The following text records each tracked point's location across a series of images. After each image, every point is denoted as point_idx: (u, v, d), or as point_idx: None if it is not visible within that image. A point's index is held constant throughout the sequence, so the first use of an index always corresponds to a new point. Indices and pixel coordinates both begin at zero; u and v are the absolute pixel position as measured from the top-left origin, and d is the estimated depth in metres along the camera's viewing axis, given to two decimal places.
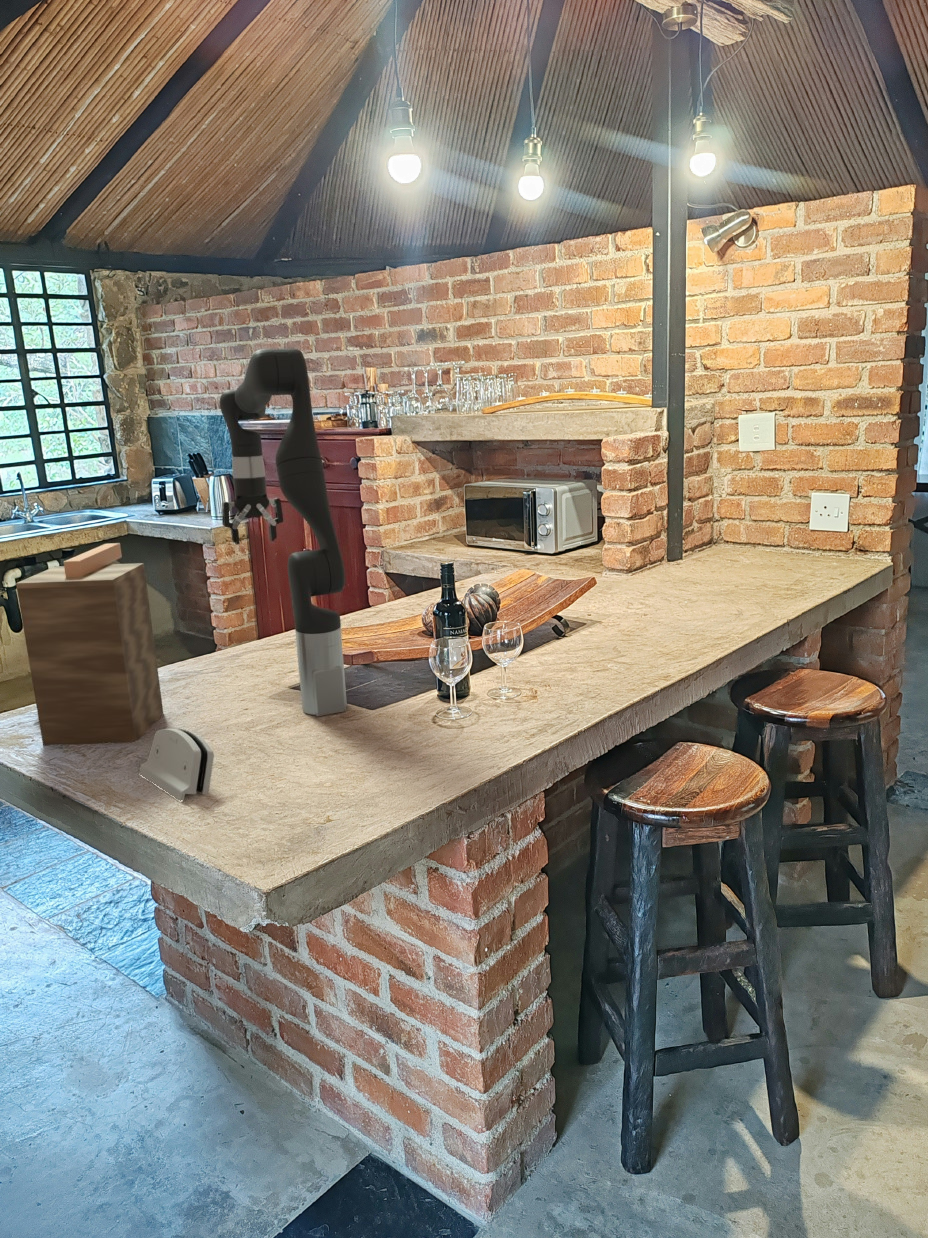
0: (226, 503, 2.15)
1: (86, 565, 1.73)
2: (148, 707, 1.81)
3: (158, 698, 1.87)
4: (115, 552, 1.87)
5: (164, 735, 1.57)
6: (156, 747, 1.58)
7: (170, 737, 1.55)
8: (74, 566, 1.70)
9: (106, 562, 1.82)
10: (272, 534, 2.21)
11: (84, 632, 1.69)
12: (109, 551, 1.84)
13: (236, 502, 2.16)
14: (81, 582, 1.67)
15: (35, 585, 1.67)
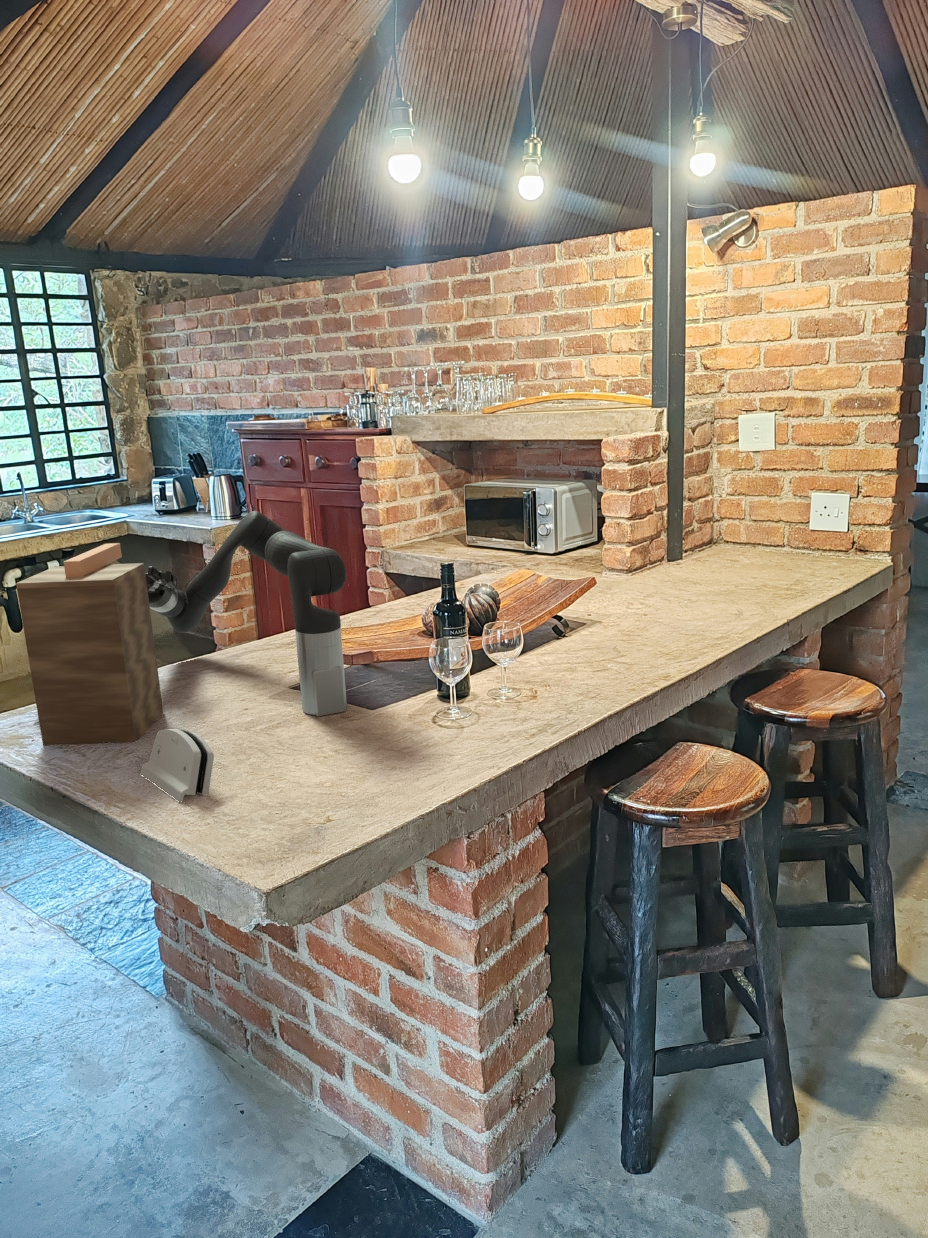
0: None
1: (86, 565, 1.73)
2: (148, 707, 1.81)
3: (158, 698, 1.87)
4: (115, 552, 1.87)
5: (165, 736, 1.57)
6: (157, 747, 1.58)
7: (171, 737, 1.55)
8: (74, 566, 1.70)
9: (106, 562, 1.82)
10: None
11: (84, 632, 1.69)
12: (109, 551, 1.84)
13: None
14: (81, 582, 1.67)
15: (35, 585, 1.67)
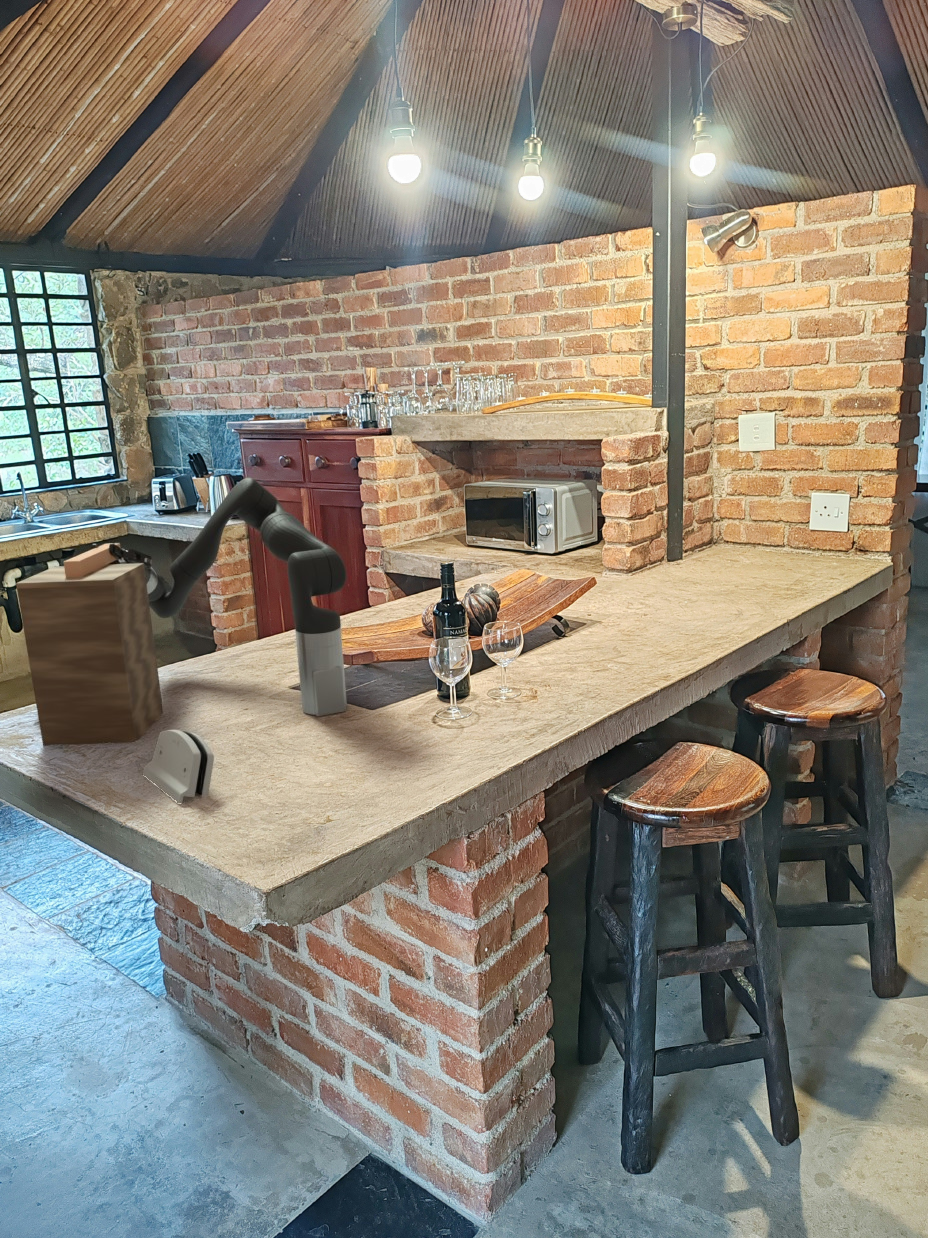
0: None
1: (86, 565, 1.73)
2: (148, 707, 1.81)
3: (158, 698, 1.87)
4: None
5: (167, 737, 1.56)
6: (160, 748, 1.58)
7: (173, 738, 1.54)
8: (74, 566, 1.70)
9: (106, 562, 1.82)
10: None
11: (84, 632, 1.69)
12: None
13: None
14: (81, 582, 1.67)
15: (35, 585, 1.67)
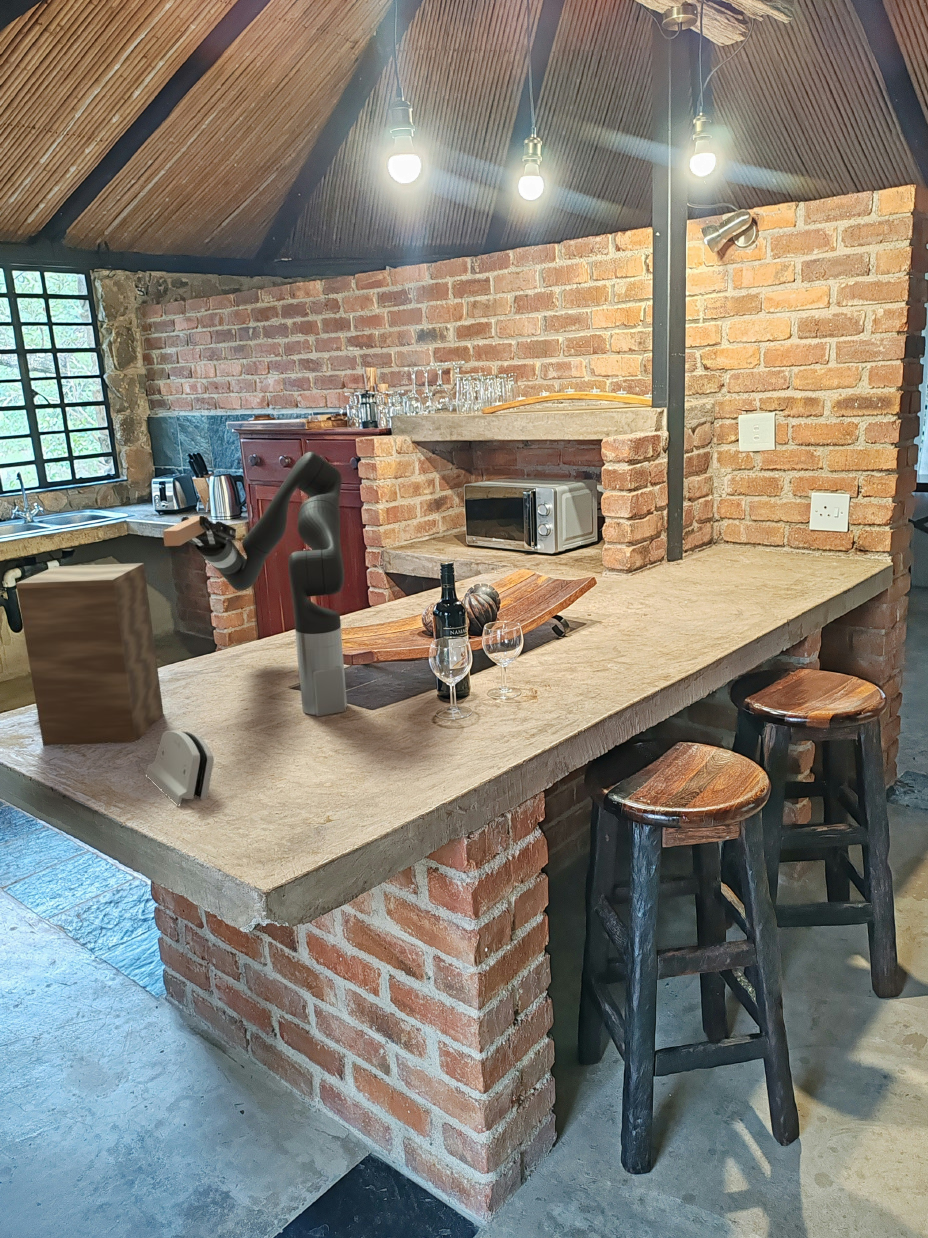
0: None
1: (183, 535, 1.81)
2: (148, 707, 1.81)
3: (158, 698, 1.87)
4: None
5: (169, 737, 1.56)
6: (162, 749, 1.57)
7: (174, 739, 1.54)
8: (173, 535, 1.78)
9: (197, 533, 1.90)
10: None
11: (84, 632, 1.69)
12: (199, 522, 1.92)
13: None
14: (81, 582, 1.67)
15: (35, 585, 1.67)
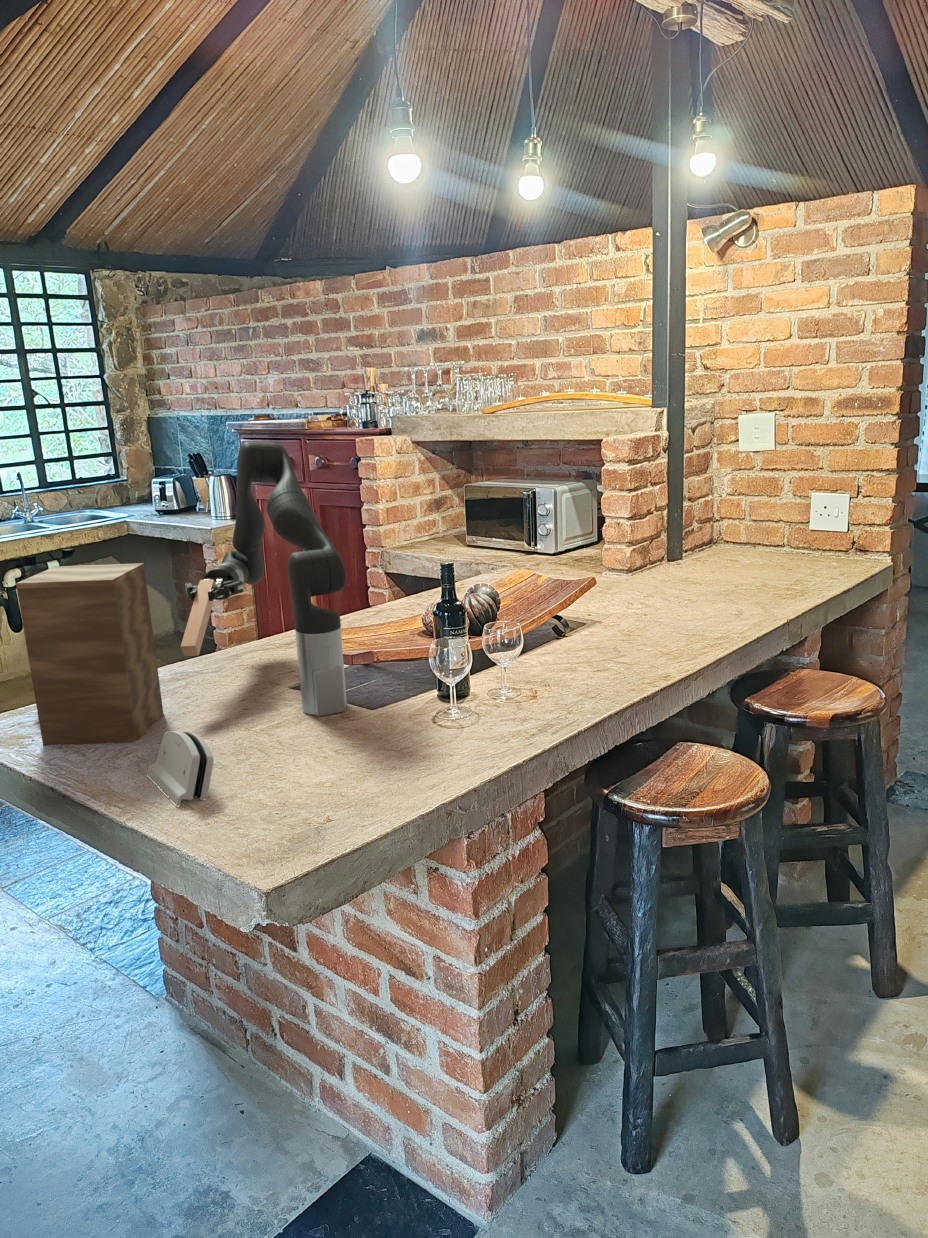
0: None
1: (199, 640, 1.89)
2: (148, 707, 1.81)
3: (158, 698, 1.87)
4: None
5: (170, 738, 1.56)
6: (163, 749, 1.57)
7: (175, 740, 1.54)
8: (191, 649, 1.87)
9: (209, 613, 1.96)
10: (211, 589, 1.97)
11: (84, 632, 1.69)
12: None
13: None
14: (81, 582, 1.67)
15: (35, 585, 1.67)
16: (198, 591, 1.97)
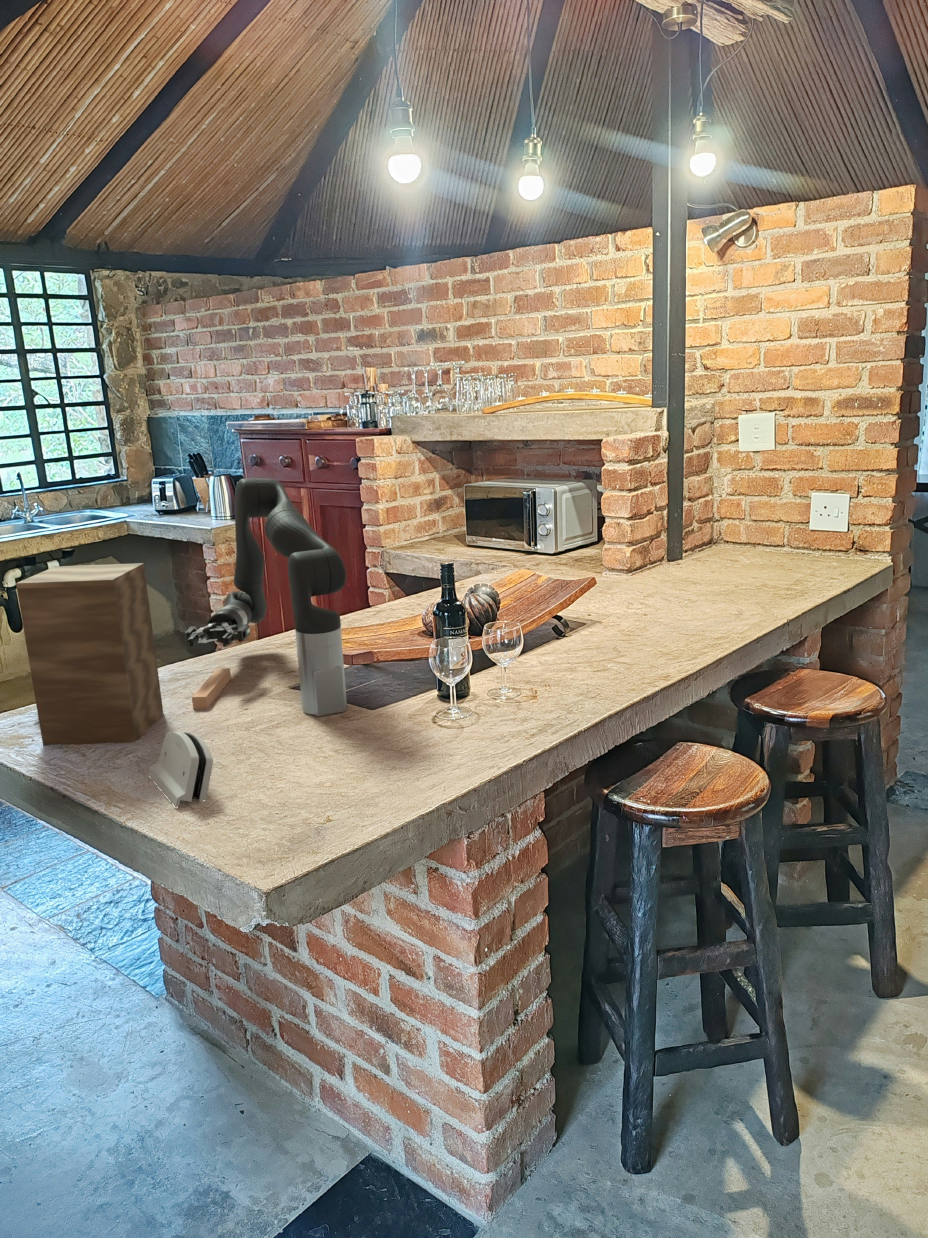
0: (193, 626, 2.09)
1: (210, 698, 1.94)
2: (148, 707, 1.81)
3: (158, 698, 1.87)
4: (227, 678, 2.08)
5: (171, 738, 1.55)
6: (165, 749, 1.57)
7: (176, 741, 1.53)
8: (201, 701, 1.91)
9: None
10: (225, 635, 2.00)
11: (84, 632, 1.69)
12: (223, 678, 2.05)
13: None
14: (81, 582, 1.67)
15: (35, 585, 1.67)
16: (214, 673, 2.07)
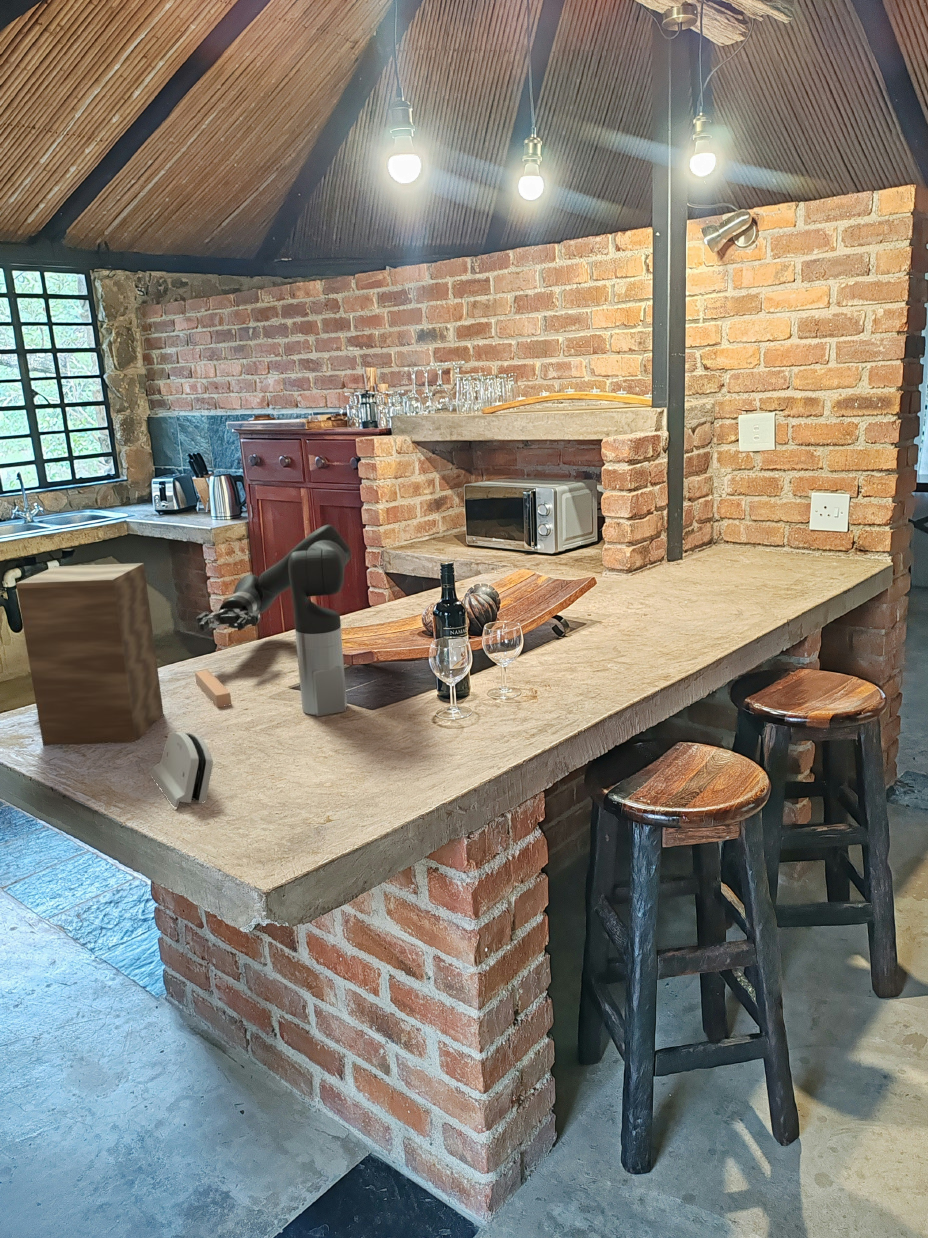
0: (206, 611, 2.21)
1: None
2: (148, 707, 1.81)
3: (158, 698, 1.87)
4: None
5: (173, 739, 1.55)
6: (167, 750, 1.57)
7: (177, 741, 1.53)
8: (225, 698, 1.93)
9: None
10: (239, 620, 2.12)
11: (84, 632, 1.69)
12: None
13: None
14: (81, 582, 1.67)
15: (35, 585, 1.67)
16: (200, 675, 2.06)
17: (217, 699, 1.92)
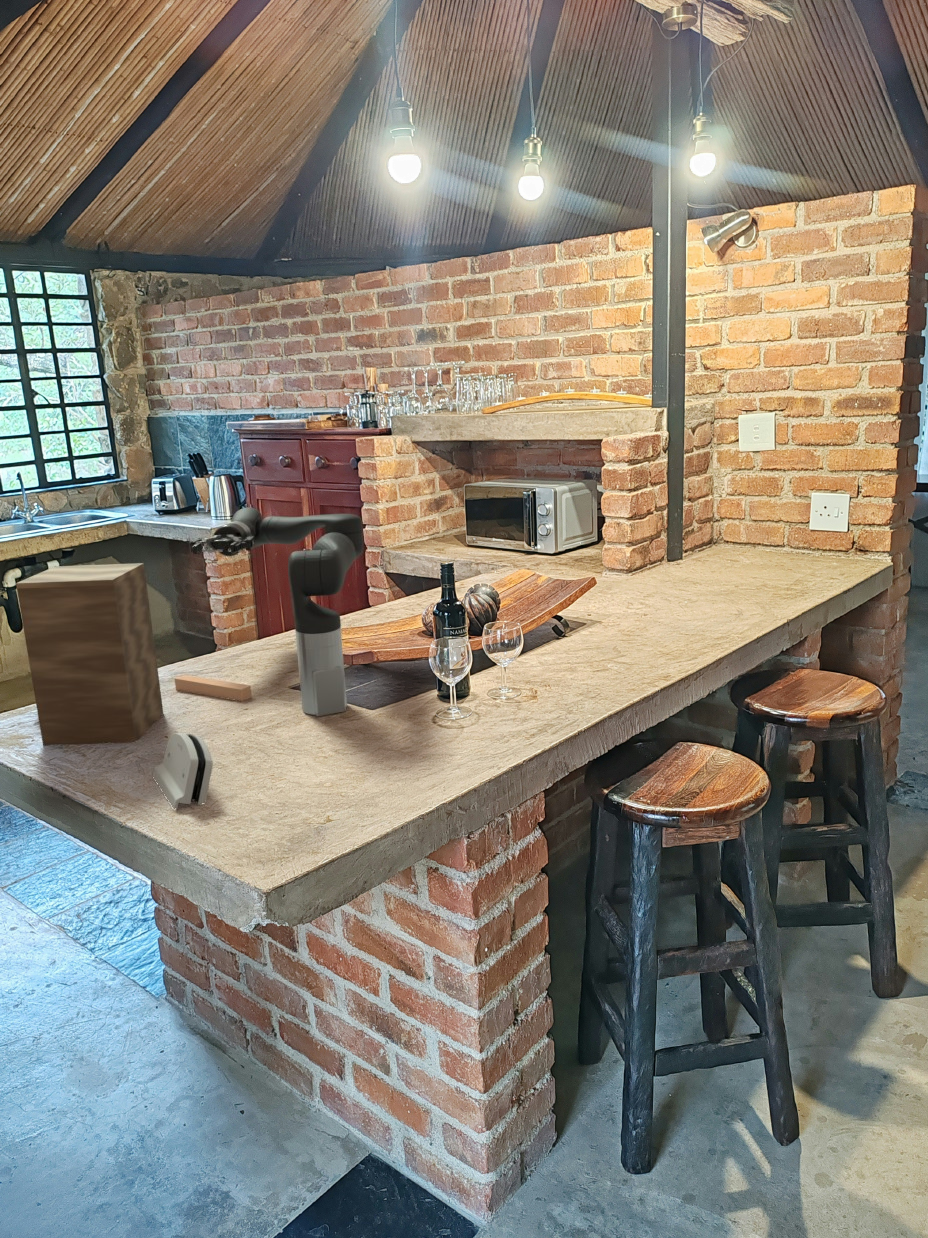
0: None
1: None
2: (148, 707, 1.81)
3: (158, 698, 1.87)
4: None
5: (174, 740, 1.55)
6: (168, 750, 1.56)
7: (178, 742, 1.53)
8: (247, 691, 1.97)
9: None
10: (233, 542, 2.08)
11: (84, 632, 1.69)
12: None
13: None
14: (81, 582, 1.67)
15: (35, 585, 1.67)
16: (187, 680, 2.03)
17: (241, 693, 1.95)
